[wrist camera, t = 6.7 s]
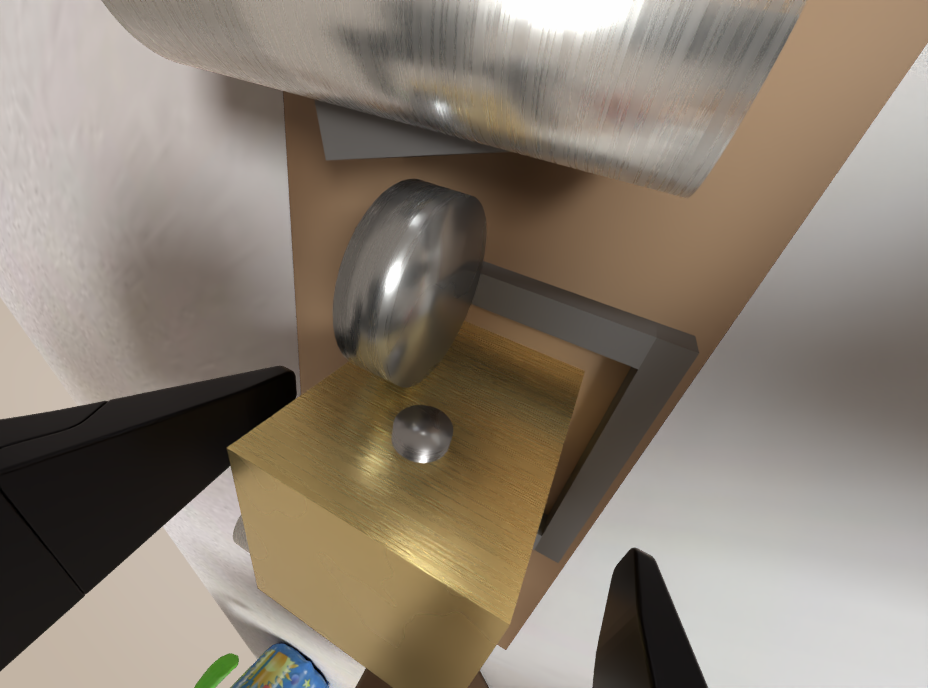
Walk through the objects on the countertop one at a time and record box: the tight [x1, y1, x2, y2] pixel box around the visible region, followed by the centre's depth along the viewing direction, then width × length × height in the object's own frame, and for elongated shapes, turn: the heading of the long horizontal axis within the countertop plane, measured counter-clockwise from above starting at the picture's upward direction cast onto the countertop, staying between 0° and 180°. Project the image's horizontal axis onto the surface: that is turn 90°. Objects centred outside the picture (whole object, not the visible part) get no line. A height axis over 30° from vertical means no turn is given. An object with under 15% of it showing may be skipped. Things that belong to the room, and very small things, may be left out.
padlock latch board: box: [283, 0, 928, 650], centre depth 11 cm, size 12×26×4 cm, turn 167°
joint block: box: [227, 321, 585, 688], centre depth 8 cm, size 5×4×6 cm
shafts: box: [102, 0, 807, 553], centre depth 9 cm, size 9×18×4 cm, turn 167°
